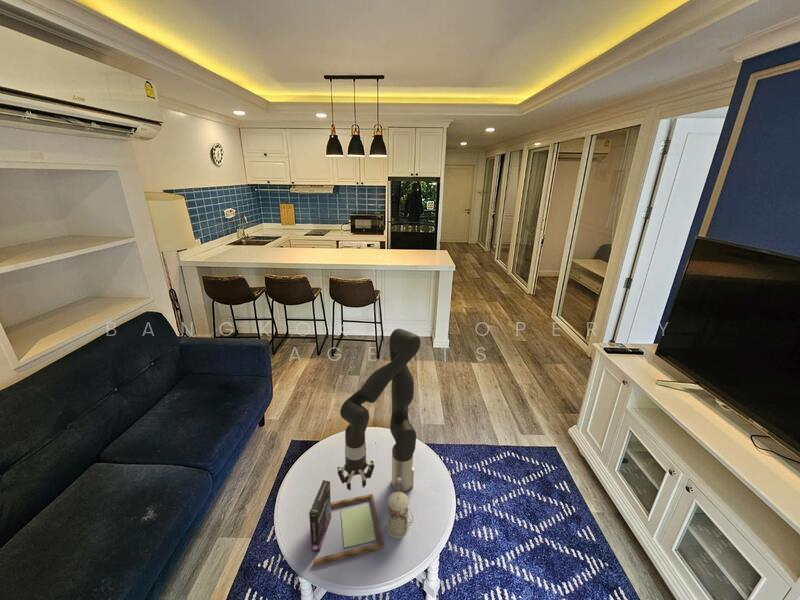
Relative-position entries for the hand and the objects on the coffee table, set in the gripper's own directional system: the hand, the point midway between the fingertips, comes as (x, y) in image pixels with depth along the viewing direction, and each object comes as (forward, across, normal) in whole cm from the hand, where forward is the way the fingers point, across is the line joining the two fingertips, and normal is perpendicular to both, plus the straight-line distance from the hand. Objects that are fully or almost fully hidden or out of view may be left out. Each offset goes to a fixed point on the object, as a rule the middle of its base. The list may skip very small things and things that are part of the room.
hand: (356, 487), depth 124 cm
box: (+20, +14, 0) cm, 24 cm away
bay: (+20, +4, 0) cm, 21 cm away
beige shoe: (+20, -16, +5) cm, 26 cm away
